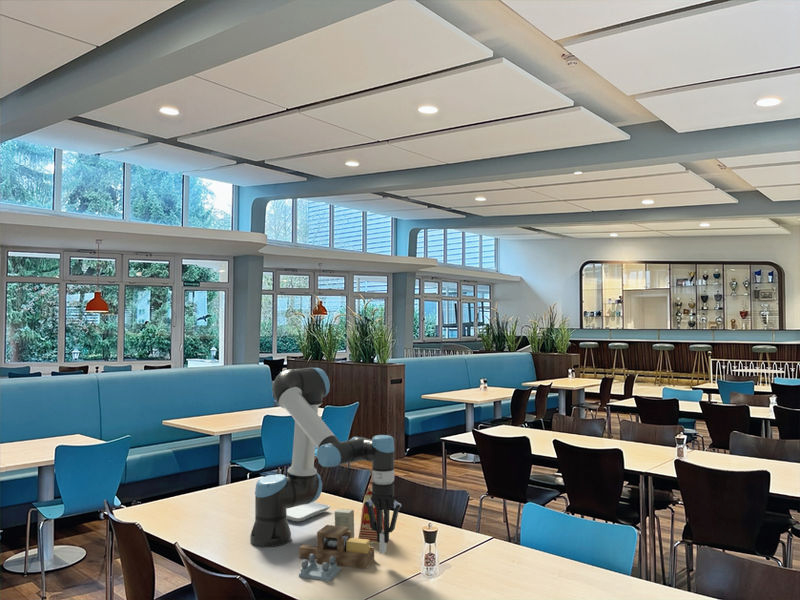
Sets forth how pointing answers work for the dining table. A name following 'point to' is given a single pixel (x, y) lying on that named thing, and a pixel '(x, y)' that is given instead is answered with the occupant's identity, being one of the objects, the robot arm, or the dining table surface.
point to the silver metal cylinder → (334, 542)
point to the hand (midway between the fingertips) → (383, 551)
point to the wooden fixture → (341, 556)
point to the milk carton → (368, 522)
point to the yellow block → (358, 545)
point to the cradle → (319, 569)
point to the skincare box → (345, 519)
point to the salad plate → (305, 511)
